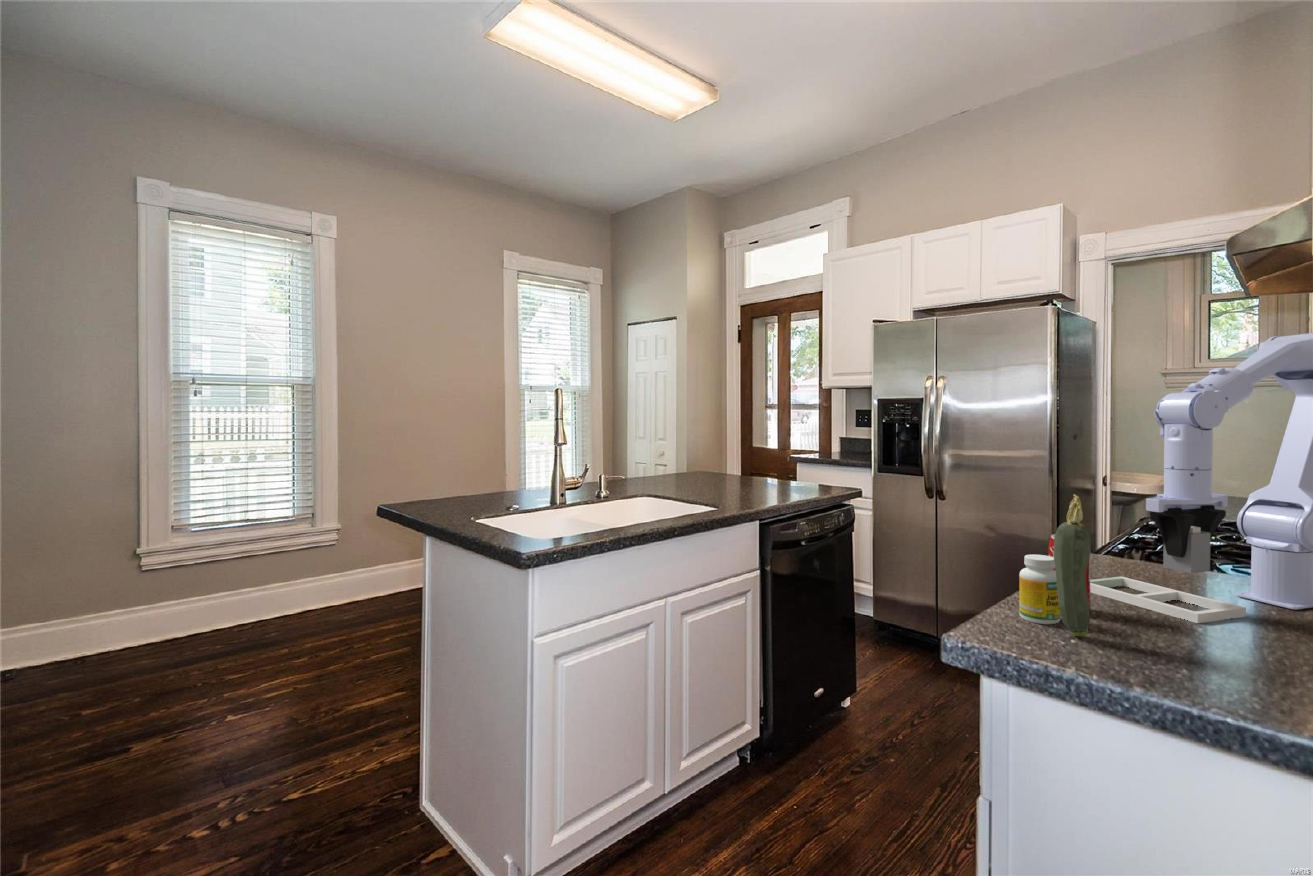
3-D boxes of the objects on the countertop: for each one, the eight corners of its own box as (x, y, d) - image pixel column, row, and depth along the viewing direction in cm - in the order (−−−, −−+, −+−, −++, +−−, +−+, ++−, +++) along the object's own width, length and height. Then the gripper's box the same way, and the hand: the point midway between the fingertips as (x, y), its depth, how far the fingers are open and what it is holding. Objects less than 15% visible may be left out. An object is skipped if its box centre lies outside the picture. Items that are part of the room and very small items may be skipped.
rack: (1121, 584, 111) (1121, 576, 111) (1245, 616, 93) (1245, 607, 93) (1078, 588, 108) (1078, 581, 108) (1197, 623, 90) (1197, 614, 90)
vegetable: (1078, 644, 83) (1080, 498, 82) (1046, 634, 87) (1047, 494, 86) (1096, 638, 85) (1098, 495, 84) (1064, 629, 89) (1065, 492, 88)
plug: (1181, 565, 99) (1182, 523, 98) (1209, 571, 95) (1210, 527, 94) (1163, 567, 97) (1163, 524, 97) (1191, 573, 94) (1191, 529, 93)
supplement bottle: (1029, 611, 97) (1030, 551, 97) (1067, 620, 92) (1067, 557, 92) (1012, 618, 94) (1012, 556, 94) (1050, 627, 89) (1050, 563, 89)
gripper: (1193, 465, 101) (1192, 546, 102) (1126, 468, 97) (1125, 552, 98) (1243, 468, 94) (1242, 555, 95) (1174, 472, 91) (1173, 562, 91)
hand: (1186, 554), depth 96 cm, fingers closed on plug, 4 cm apart
